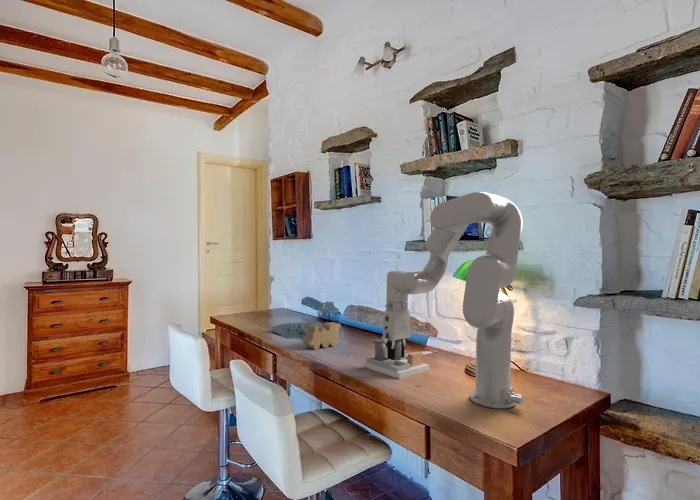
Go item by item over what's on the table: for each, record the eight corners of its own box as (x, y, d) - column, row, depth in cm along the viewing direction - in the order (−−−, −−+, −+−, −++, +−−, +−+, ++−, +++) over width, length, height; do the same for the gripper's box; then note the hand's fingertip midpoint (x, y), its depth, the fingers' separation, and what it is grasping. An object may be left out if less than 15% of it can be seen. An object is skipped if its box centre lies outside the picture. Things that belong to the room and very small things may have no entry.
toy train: (302, 348, 174) (303, 325, 174) (333, 343, 185) (333, 321, 185) (310, 351, 170) (310, 327, 170) (341, 345, 181) (341, 323, 181)
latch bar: (422, 363, 145) (422, 352, 146) (412, 366, 142) (412, 355, 142) (417, 362, 147) (417, 351, 147) (407, 364, 144) (407, 353, 144)
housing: (429, 370, 145) (430, 342, 145) (399, 379, 134) (400, 349, 134) (395, 360, 157) (395, 334, 157) (365, 367, 147) (365, 340, 147)
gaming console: (424, 346, 180) (441, 351, 172) (424, 348, 180) (441, 352, 172) (386, 353, 167) (402, 358, 159) (386, 354, 167) (402, 360, 159)
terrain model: (268, 332, 209) (268, 322, 208) (313, 326, 226) (313, 317, 226) (293, 347, 188) (294, 337, 188) (340, 340, 206) (341, 330, 206)
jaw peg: (403, 359, 140) (404, 336, 140) (395, 361, 138) (396, 337, 138) (393, 356, 144) (394, 334, 144) (385, 357, 141) (386, 335, 141)
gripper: (387, 309, 132) (386, 364, 132) (420, 305, 143) (419, 356, 143) (372, 306, 138) (371, 359, 138) (404, 303, 149) (403, 352, 149)
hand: (395, 357), depth 140 cm, fingers closed on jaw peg, 4 cm apart
